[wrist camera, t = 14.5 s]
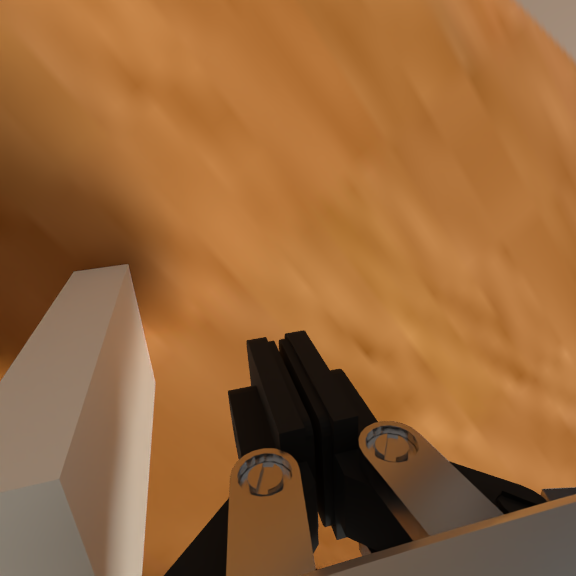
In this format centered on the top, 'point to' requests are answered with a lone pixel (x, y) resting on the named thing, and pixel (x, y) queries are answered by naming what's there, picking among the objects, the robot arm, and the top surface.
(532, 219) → the top surface
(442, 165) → the top surface
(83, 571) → the domino
